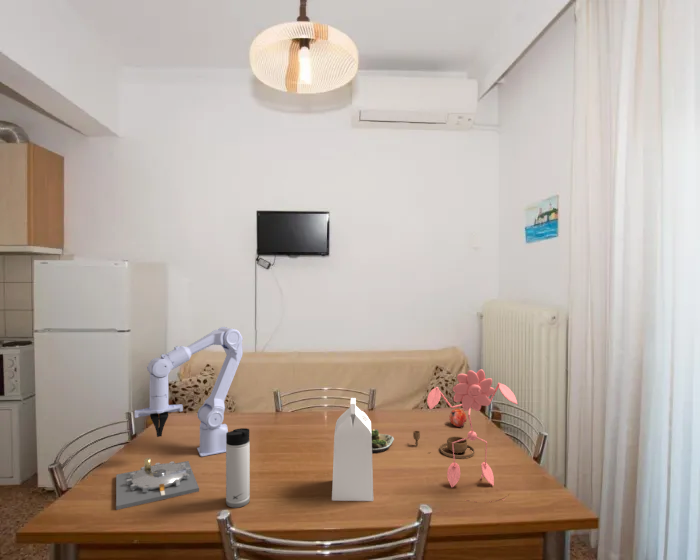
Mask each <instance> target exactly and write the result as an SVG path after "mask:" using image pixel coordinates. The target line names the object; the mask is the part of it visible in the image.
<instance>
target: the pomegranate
mask: <svg viewBox="0 0 700 560" xmlns="http://www.w3.org/2000/svg"><path fill="white" fill-rule="evenodd" d="M448 416H449V422H450V424H452V425H453V426H455V427H456V428H462V427H463V426H464V425H466V422H467V419H468V418H467V414H466V411H464V410H463V408H454V409H452V410H451V411H450V414H449V415H448Z"/></svg>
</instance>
